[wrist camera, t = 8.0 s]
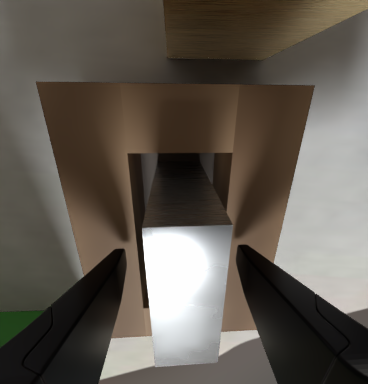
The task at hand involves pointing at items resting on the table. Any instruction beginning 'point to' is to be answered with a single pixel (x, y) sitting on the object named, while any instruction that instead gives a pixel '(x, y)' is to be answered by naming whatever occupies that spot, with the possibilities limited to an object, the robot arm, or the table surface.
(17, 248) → the table surface
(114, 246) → the socket block
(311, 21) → the square bit
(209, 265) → the block
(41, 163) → the table surface
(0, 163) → the table surface
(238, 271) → the robot arm
